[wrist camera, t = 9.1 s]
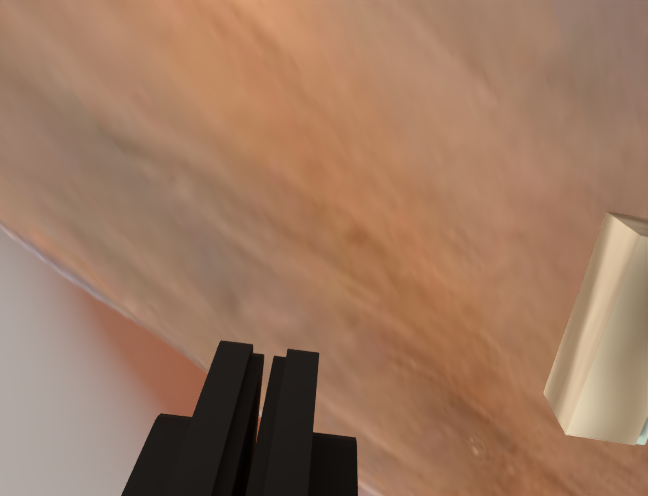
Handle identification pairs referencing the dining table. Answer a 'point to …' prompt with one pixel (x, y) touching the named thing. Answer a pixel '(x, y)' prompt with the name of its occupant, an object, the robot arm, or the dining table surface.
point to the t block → (607, 340)
